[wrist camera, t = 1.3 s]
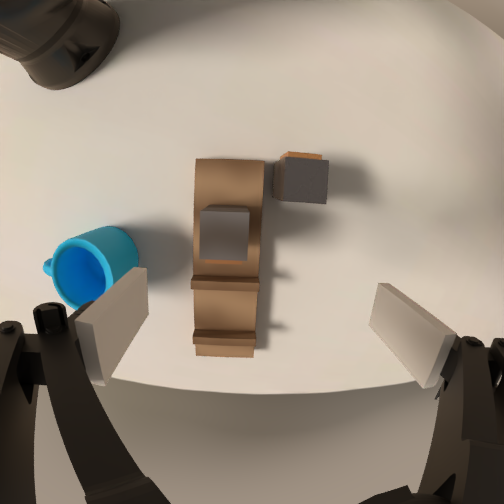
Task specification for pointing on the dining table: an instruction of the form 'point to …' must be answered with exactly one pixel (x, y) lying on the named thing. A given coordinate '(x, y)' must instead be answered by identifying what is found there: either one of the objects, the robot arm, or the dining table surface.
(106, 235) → the mug
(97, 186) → the dining table surface
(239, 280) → the rail
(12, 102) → the dining table surface
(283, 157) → the dark grey upright block
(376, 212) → the dining table surface
